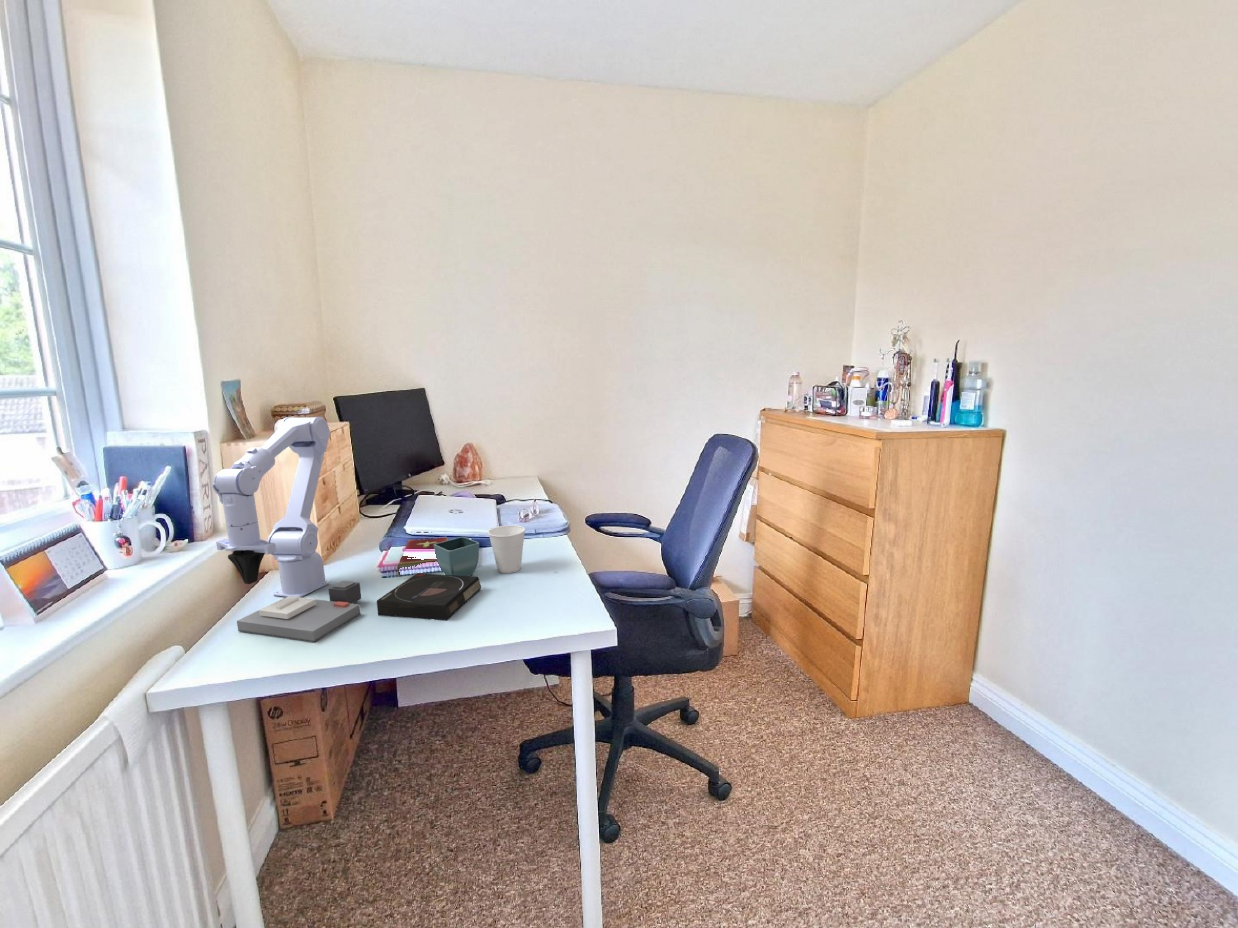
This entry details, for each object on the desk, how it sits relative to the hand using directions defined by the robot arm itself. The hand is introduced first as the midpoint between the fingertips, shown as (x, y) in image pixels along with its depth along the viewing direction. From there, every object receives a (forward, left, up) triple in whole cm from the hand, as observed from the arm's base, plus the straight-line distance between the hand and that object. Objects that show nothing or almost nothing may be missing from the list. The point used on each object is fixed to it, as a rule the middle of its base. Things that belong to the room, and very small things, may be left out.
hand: (251, 582), depth 123 cm
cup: (-39, +42, -8) cm, 58 cm away
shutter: (0, +10, -5) cm, 11 cm away
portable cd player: (-16, +34, -9) cm, 39 cm away
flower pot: (-32, +31, -8) cm, 46 cm away
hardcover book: (-40, +16, -9) cm, 44 cm away
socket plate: (0, +12, -8) cm, 15 cm away
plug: (-10, +15, -8) cm, 20 cm away
